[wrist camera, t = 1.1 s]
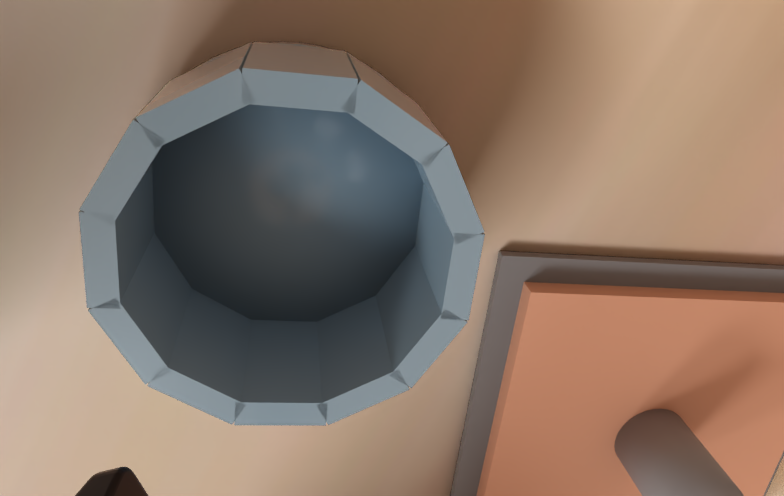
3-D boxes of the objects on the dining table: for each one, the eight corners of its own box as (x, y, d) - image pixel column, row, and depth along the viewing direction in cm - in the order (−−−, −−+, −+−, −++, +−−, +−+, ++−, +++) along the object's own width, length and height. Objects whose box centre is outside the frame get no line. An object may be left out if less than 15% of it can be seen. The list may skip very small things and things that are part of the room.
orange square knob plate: (728, 534, 31) (798, 629, 27) (465, 541, 29) (496, 646, 25) (835, 295, 26) (943, 365, 22) (523, 281, 24) (575, 356, 19)
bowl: (418, 332, 24) (448, 426, 20) (138, 324, 23) (97, 424, 18) (460, 58, 20) (511, 93, 16) (123, 24, 19) (65, 50, 14)
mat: (735, 542, 32) (740, 548, 32) (439, 550, 29) (440, 558, 29) (859, 269, 26) (867, 273, 26) (499, 251, 23) (502, 255, 23)
